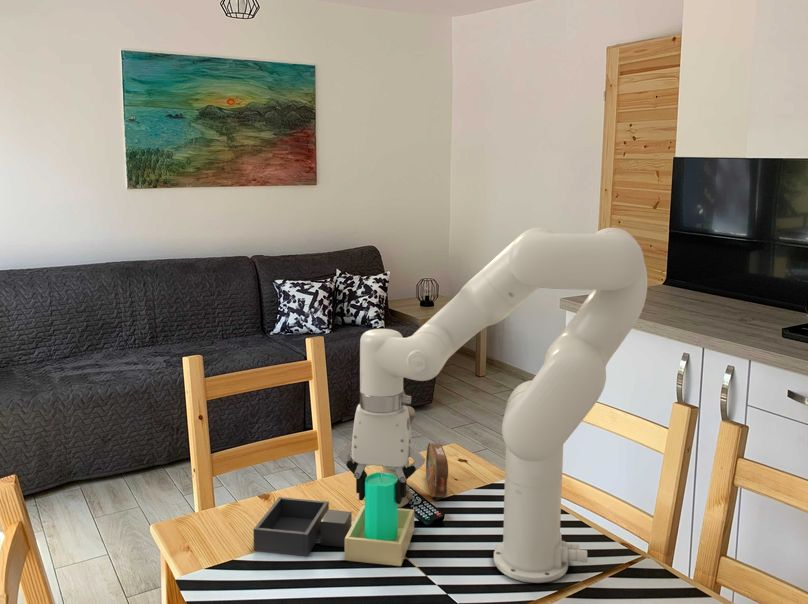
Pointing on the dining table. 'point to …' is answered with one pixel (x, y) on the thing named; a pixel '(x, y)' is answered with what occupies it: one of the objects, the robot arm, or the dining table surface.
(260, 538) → the charcoal bin
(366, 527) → the candle
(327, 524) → the block
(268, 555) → the dining table surface
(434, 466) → the tin
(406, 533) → the cream bin
